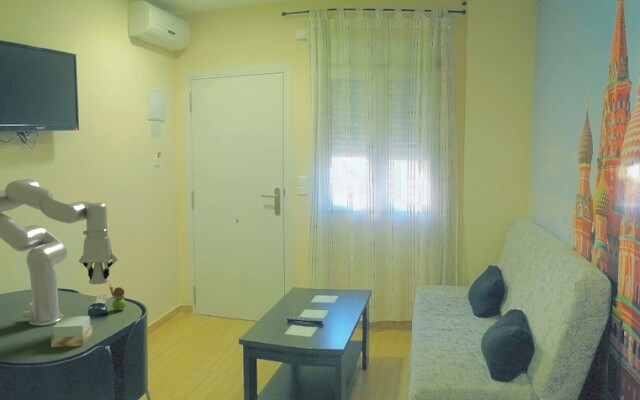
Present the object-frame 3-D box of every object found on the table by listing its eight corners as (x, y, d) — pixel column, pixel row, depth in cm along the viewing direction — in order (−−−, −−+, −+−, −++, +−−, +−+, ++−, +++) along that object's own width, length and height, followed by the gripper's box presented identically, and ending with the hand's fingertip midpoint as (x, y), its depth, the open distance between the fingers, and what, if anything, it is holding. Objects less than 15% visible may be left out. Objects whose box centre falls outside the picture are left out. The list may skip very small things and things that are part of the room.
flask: (112, 281, 214) (111, 257, 212) (99, 285, 207) (98, 261, 205) (98, 279, 216) (97, 255, 215) (85, 283, 209) (84, 259, 208)
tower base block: (51, 348, 190) (50, 337, 189) (62, 336, 201) (61, 326, 200) (83, 346, 191) (82, 336, 191) (92, 335, 202) (91, 325, 202)
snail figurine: (112, 308, 231) (111, 282, 230) (127, 308, 232) (126, 281, 230) (108, 312, 226) (107, 285, 224) (123, 312, 226) (122, 285, 225)
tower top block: (53, 337, 190) (53, 327, 189) (62, 327, 199) (61, 317, 199) (83, 336, 191) (82, 325, 191) (90, 325, 201) (89, 316, 200)
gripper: (71, 236, 204) (73, 281, 206) (117, 235, 206) (118, 280, 209) (77, 232, 211) (79, 275, 214) (121, 231, 213) (123, 275, 216)
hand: (98, 277), depth 211 cm, fingers closed on flask, 5 cm apart
